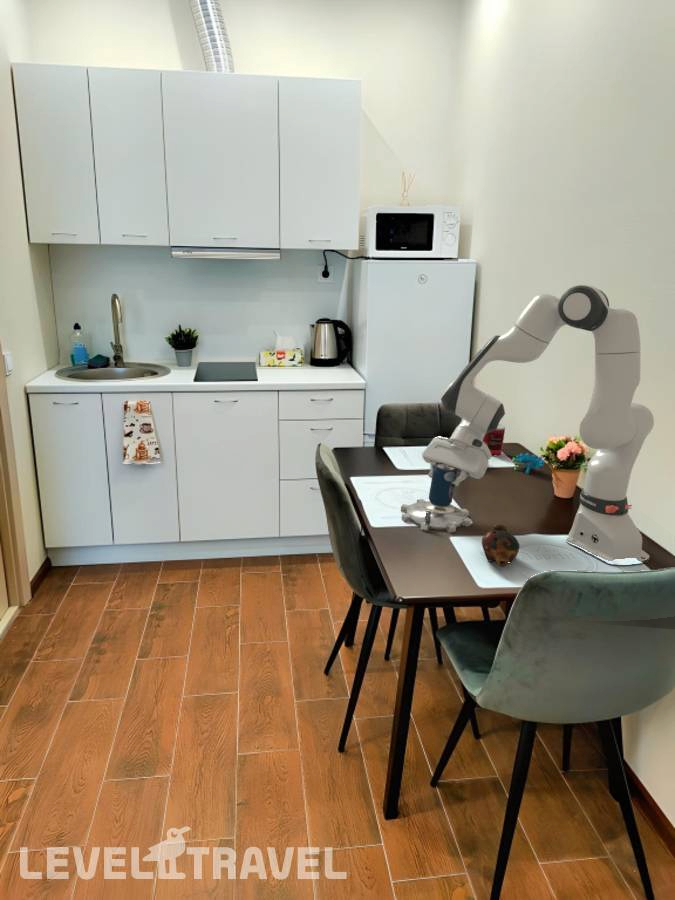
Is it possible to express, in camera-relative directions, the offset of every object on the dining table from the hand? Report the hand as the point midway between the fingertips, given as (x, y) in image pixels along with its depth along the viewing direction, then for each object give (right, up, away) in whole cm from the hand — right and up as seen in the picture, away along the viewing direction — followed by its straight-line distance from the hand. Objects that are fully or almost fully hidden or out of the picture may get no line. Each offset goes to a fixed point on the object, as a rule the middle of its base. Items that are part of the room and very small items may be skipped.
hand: (442, 480), depth 201 cm
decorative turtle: (+11, -19, -24) cm, 33 cm away
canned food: (+29, +8, +63) cm, 70 cm away
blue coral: (+37, +1, +45) cm, 59 cm away
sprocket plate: (-2, -11, 0) cm, 11 cm away
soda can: (0, -7, +3) cm, 8 cm away
